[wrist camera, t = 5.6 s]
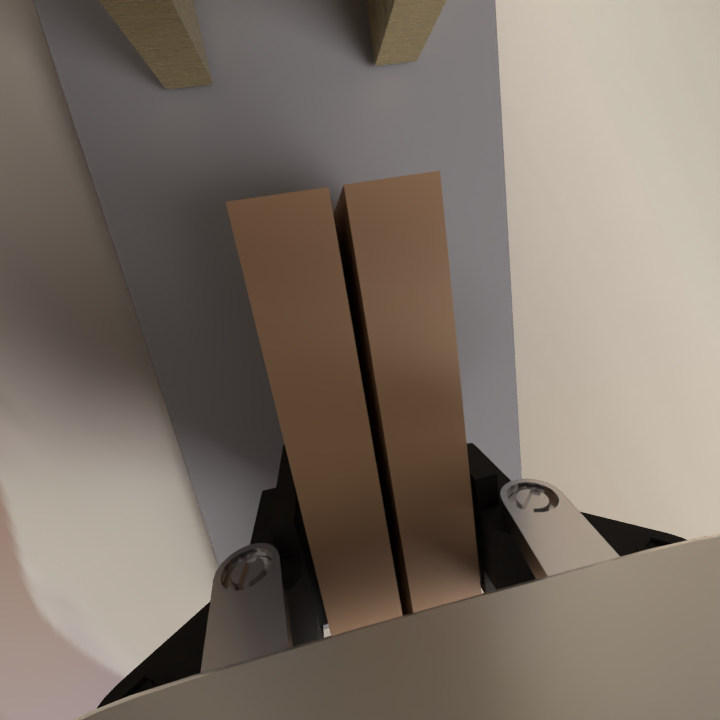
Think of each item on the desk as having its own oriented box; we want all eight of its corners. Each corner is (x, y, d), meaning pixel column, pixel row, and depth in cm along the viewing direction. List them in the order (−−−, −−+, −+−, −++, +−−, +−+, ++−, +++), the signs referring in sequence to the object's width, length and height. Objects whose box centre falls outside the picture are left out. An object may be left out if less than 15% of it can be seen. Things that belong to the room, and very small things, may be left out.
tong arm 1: (327, 229, 10) (344, 184, 5) (379, 221, 10) (439, 170, 6) (396, 616, 14) (442, 794, 9) (434, 606, 14) (499, 775, 9)
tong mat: (57, 3, 9) (22, -35, 8) (471, -32, 11) (491, -71, 9) (251, 621, 15) (246, 650, 14) (511, 552, 16) (527, 573, 15)
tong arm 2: (266, 239, 10) (225, 202, 5) (319, 230, 10) (328, 187, 5) (352, 628, 14) (375, 816, 9) (391, 618, 14) (433, 797, 9)
